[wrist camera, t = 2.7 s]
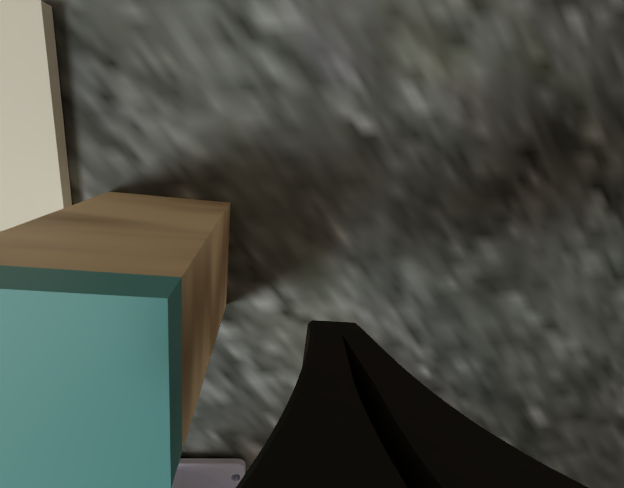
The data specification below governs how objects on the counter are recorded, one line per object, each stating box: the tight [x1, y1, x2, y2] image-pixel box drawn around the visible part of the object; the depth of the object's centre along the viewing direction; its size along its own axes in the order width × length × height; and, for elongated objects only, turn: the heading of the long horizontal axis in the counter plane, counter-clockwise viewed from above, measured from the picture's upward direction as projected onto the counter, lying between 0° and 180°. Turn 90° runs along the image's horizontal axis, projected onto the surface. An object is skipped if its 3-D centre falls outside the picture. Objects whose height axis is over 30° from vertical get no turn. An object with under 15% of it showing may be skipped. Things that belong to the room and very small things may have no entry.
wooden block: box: [0, 192, 230, 488], centre depth 11 cm, size 5×5×9 cm
